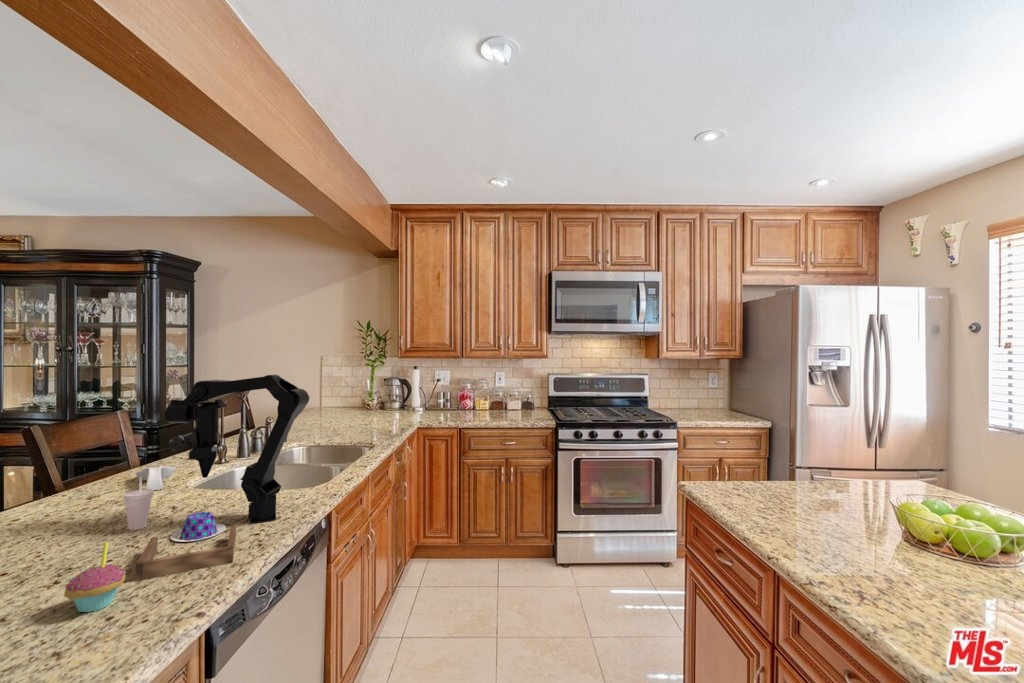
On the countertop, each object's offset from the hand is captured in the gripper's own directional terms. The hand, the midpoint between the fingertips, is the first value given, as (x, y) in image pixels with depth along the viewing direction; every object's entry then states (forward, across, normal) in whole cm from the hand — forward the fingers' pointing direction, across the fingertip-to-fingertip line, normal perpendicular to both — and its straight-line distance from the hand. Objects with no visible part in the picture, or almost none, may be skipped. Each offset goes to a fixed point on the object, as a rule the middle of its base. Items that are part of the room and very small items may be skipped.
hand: (205, 476), depth 128 cm
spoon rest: (+12, -48, -19) cm, 53 cm away
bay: (+12, +28, 0) cm, 30 cm away
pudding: (+12, +12, 0) cm, 17 cm away
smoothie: (+12, 0, -15) cm, 19 cm away
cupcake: (+12, +43, -13) cm, 47 cm away
